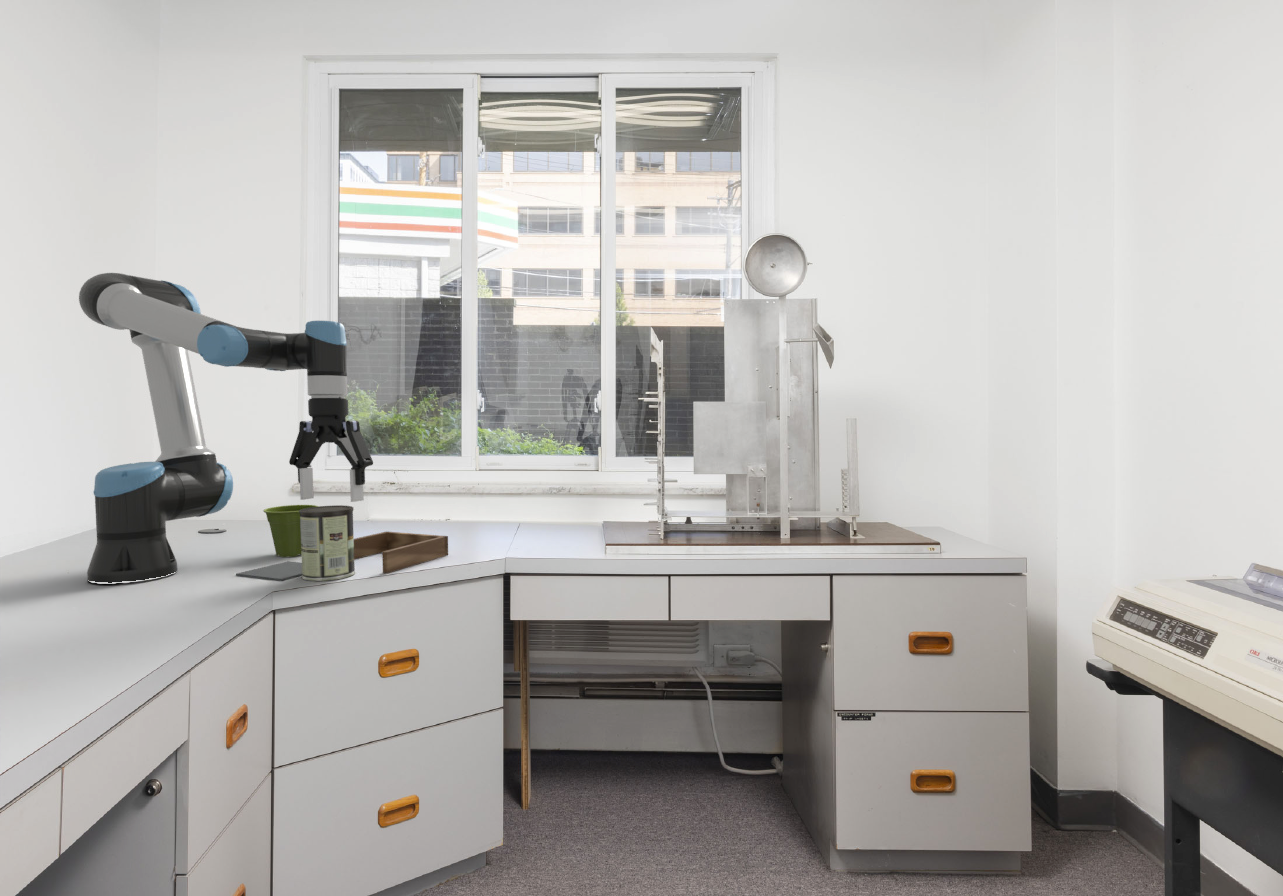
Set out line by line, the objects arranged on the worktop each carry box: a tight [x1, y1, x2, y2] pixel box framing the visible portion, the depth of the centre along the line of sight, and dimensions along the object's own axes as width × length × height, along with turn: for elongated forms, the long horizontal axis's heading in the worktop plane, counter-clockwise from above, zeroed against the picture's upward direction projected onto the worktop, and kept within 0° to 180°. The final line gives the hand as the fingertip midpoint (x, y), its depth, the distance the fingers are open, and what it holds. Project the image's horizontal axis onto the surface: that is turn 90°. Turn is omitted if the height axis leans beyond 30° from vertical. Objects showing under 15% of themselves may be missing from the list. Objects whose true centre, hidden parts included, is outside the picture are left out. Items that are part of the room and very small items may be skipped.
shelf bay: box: [354, 531, 449, 574], centre depth 162 cm, size 18×20×4 cm
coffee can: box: [299, 504, 356, 582], centre depth 147 cm, size 10×10×14 cm
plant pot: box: [262, 504, 319, 558], centre depth 169 cm, size 12×12×11 cm
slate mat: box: [235, 560, 302, 582], centre depth 151 cm, size 13×13×1 cm
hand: (331, 500), depth 146 cm, fingers open, 13 cm apart
